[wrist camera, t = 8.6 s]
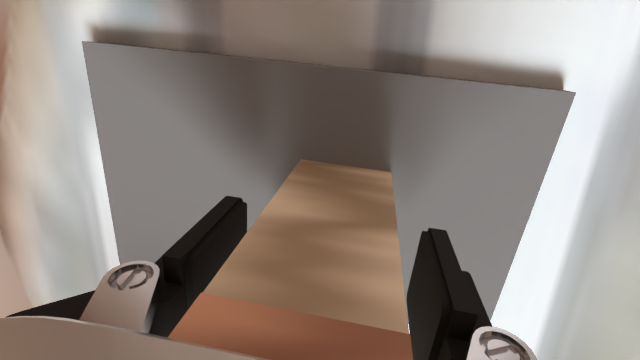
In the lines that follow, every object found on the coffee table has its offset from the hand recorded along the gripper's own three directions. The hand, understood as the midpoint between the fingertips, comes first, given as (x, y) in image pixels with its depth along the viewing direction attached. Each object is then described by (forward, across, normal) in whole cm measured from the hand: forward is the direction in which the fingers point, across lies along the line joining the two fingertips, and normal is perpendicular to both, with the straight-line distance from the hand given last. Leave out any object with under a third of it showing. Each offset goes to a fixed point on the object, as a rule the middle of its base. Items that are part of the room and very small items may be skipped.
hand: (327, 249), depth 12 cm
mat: (+4, +2, 0) cm, 5 cm away
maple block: (+4, 0, 0) cm, 4 cm away
